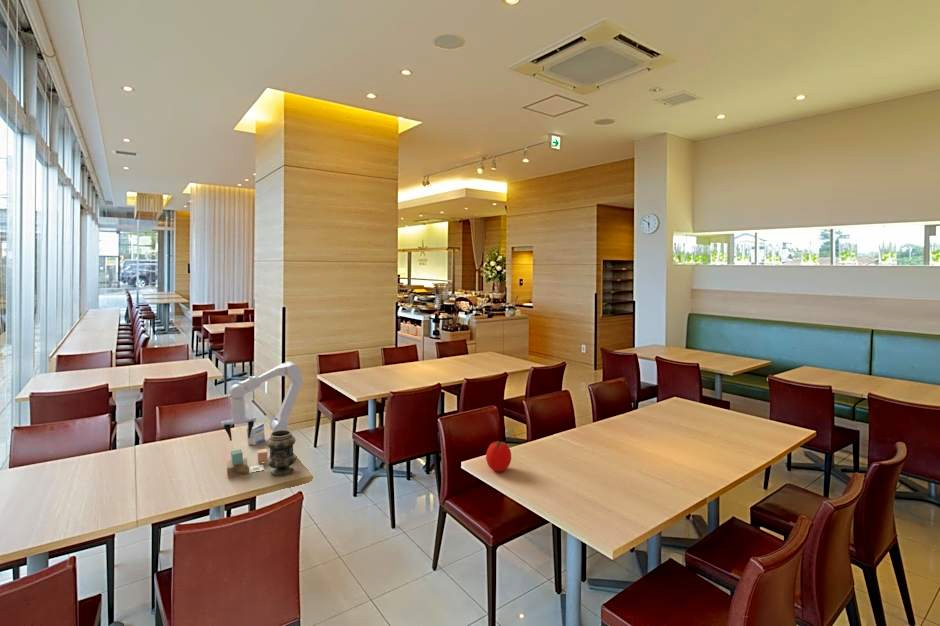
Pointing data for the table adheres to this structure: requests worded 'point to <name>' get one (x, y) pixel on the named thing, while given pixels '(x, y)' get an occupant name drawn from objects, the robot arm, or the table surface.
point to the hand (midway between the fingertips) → (240, 438)
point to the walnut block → (237, 468)
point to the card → (255, 468)
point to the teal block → (236, 457)
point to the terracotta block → (262, 455)
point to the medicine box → (256, 434)
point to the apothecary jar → (281, 453)
